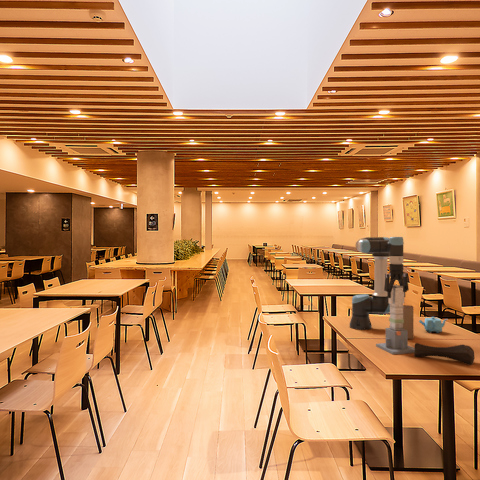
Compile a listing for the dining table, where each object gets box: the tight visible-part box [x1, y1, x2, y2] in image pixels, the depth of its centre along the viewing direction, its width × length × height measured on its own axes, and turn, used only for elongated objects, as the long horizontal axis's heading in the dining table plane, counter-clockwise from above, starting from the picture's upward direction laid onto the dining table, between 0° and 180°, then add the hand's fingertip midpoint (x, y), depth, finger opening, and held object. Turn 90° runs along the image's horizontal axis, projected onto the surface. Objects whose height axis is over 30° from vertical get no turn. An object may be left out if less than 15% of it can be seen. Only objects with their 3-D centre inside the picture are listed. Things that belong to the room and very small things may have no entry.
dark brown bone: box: [413, 342, 475, 366], centre depth 195 cm, size 11×10×28 cm
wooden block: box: [403, 304, 414, 340], centre depth 240 cm, size 10×10×20 cm
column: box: [388, 284, 404, 331], centre depth 214 cm, size 6×6×27 cm
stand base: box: [375, 327, 414, 355], centre depth 214 cm, size 16×16×12 cm
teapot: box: [418, 316, 449, 334], centre depth 254 cm, size 18×14×10 cm
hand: (396, 303), depth 214 cm, fingers open, 7 cm apart
